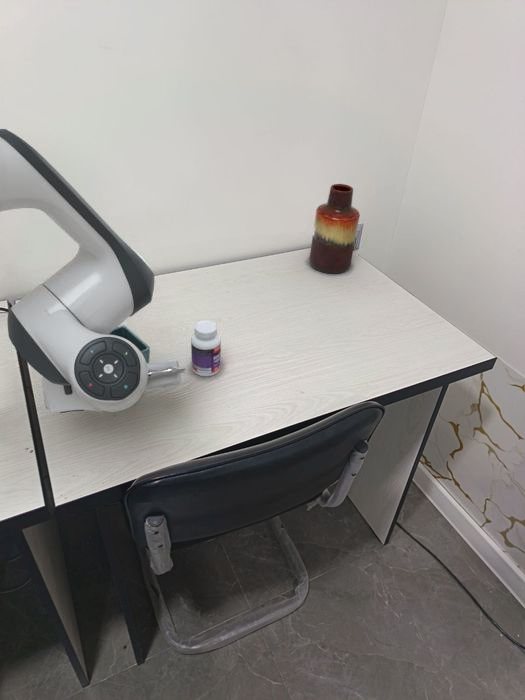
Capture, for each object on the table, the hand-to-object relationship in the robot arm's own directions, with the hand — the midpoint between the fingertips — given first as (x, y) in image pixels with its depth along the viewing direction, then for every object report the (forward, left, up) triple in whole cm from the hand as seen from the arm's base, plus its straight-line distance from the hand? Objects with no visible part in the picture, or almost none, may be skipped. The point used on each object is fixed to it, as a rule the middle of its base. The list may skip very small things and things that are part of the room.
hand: (115, 386), depth 82 cm
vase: (+58, +39, -5) cm, 70 cm away
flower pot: (+1, +6, -5) cm, 8 cm away
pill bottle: (+17, +6, -5) cm, 19 cm away
